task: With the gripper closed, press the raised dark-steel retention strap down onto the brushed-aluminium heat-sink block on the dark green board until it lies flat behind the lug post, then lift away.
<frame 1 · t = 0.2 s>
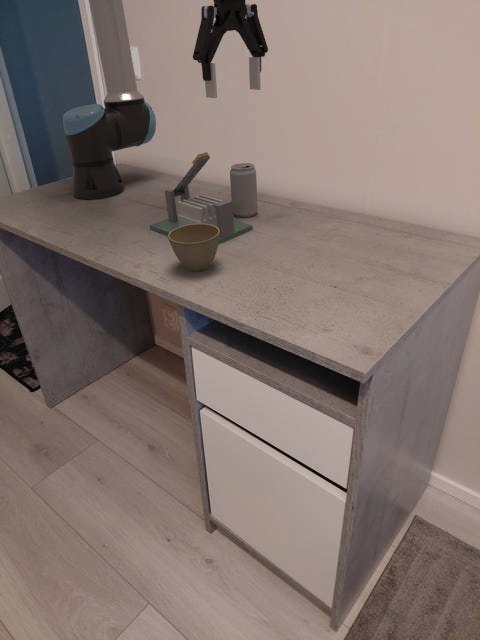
hand: (234, 93, 106), 28 cm above the table, fingers open, 13 cm apart
beverage can: (245, 214, 120), on the table
flower pot: (197, 266, 95), on the table
strap: (189, 176, 107), point 12 cm above the table, hinge at 40.0°
board: (200, 229, 112), on the table
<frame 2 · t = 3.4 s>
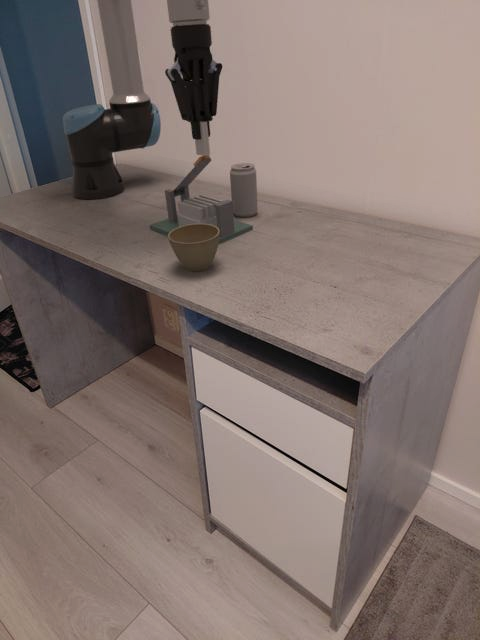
hand: (203, 154, 101), 18 cm above the table, fingers closed
strap: (189, 177, 107), point 12 cm above the table, hinge at 37.6°, touching gripper
everything else where it was.
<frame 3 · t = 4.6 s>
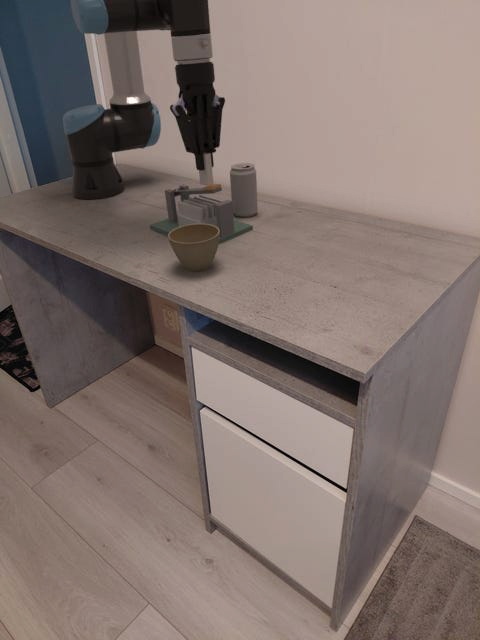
hand: (207, 184, 103), 11 cm above the table, fingers closed
strap: (195, 190, 108), point 9 cm above the table, hinge at 12.2°, touching gripper
everything else where it was.
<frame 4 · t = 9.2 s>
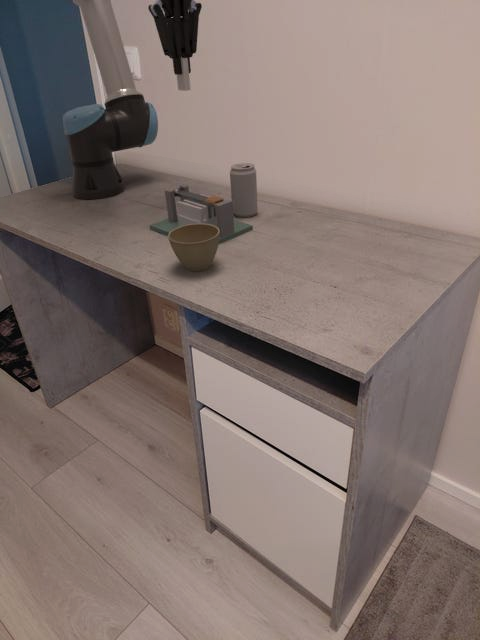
hand: (184, 90, 110), 28 cm above the table, fingers closed
strap: (196, 197, 108), point 8 cm above the table, hinge at 0.2°
everything else where it was.
at the end: strap at +0° (first picture: +40°) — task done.
